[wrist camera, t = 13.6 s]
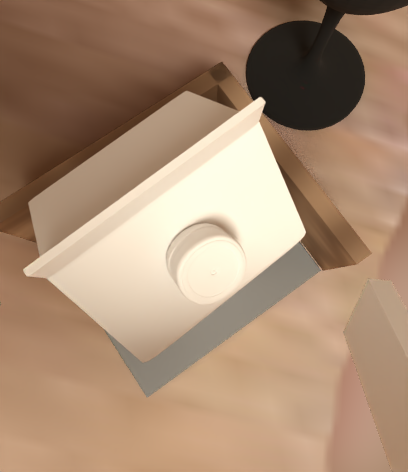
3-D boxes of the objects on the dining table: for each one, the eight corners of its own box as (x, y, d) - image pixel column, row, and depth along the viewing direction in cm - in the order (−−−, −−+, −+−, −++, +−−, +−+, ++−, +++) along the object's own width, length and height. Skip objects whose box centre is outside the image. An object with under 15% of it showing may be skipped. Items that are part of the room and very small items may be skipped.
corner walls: (29, 230, 28) (-18, 213, 22) (217, 108, 29) (221, 61, 23) (139, 405, 25) (120, 439, 20) (334, 261, 27) (371, 253, 21)
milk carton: (122, 251, 27) (-57, 157, 8) (194, 197, 28) (178, 0, 9) (177, 324, 26) (114, 405, 7) (249, 267, 27) (359, 208, 8)
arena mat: (46, 236, 27) (44, 236, 27) (212, 128, 29) (212, 126, 29) (147, 396, 26) (147, 397, 25) (319, 270, 27) (320, 270, 27)
